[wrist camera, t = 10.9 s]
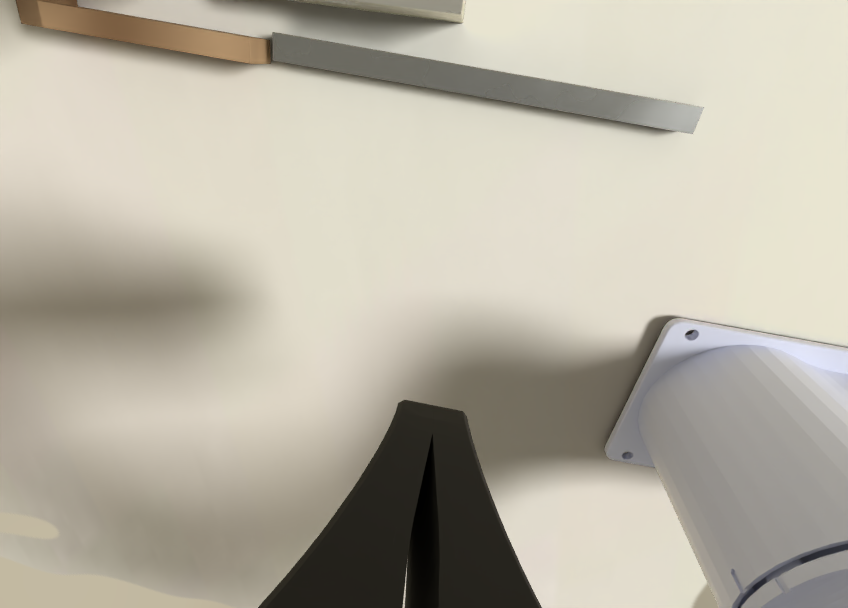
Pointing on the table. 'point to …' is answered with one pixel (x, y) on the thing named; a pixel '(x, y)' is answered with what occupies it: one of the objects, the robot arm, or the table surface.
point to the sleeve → (486, 83)
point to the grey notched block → (404, 7)
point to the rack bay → (143, 31)
